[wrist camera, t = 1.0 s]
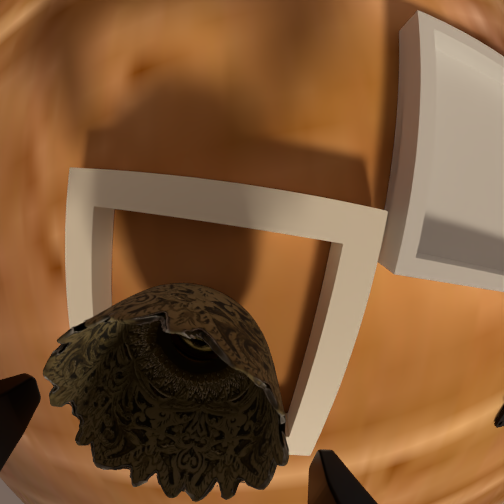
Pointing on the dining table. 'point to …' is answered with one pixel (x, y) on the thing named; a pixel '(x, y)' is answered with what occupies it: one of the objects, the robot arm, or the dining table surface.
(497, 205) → the grey tray
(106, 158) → the dining table surface
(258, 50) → the dining table surface
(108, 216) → the white flat square frame
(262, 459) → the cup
